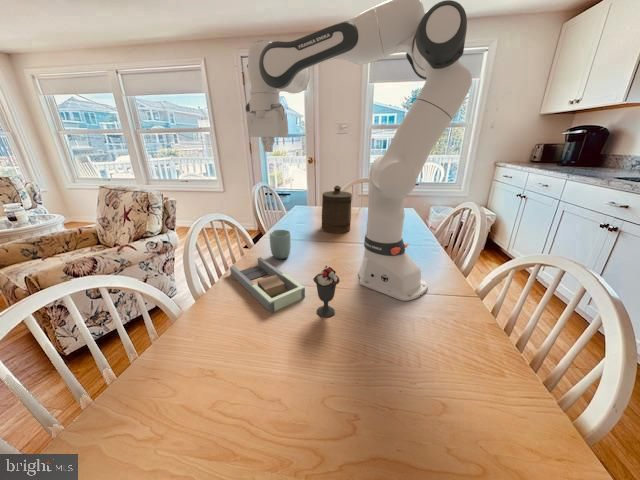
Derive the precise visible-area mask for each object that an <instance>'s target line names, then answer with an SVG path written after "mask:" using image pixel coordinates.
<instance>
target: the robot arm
mask: <svg viewBox="0 0 640 480" xmlns="http://www.w3.org/2000/svg"><path fill="white" fill-rule="evenodd" d="M466 13H467V12H466V10H465V8H464V7H463V5H462V4H461V3H459V2H458V1H456V0H442V1H440V2H437V3H435V4H434V5H433V6H431V7H429V9H428V10H427V11H425V8H424V4H423V2H422V0H387V1H384V2H382V3H380V4H378V5H376V6H373V7H371V8H370V9H367V10H365V11H363V12H361V13H359V14H357V15H355V16H353V17H351V18H348V19H346V20H344V21H341V22H339V23H336V24H333V25H330V26H328V27H325V28H323V29H319V30H318V31H315V32H312V33H310V34H308V35H305V36H302V37H300V38H297V39H294V40H291V41H278V40H277V41H269V40H258V41H255V42H253V43H252V44H251V45H250V46H249V48H248V53H247V67H248V69H247V70H248V72H247V73H248V79H249V83H250V91H249V94H250V95H249V96H250V98H249V101H248V102H246V104H245V106H244V111H245V113H246V123H247V129H248V130H247V131H248V135H249V137H251V138H260V141H261V144H262V146H263V151H264V153H272V152H273V151H274V144H275V138H288V135H289V123H288V117H287V112H286V111H285V107H284V105H282V103H280V93H281V92H285V93H288V94H300V93H302V92H303V91H305V89H306V88H307V86H308V85H309V81H310V70H309V68H312V67H315V66H317V65H319V64H322V63H325V62H328V61H331V60H342V61H343V60H344V61H347V62H349V63H353V64H356V65H359V66H360V65H364V64H365V65H366V64H370V63H374V62H377V61H380V60H382V59H384V58H387V57H389V56H390V55H393V54H396V53H399V52H404V53H406V54H405V58H406V59H407V61H408V62H409V64H410V66H411V67H412V68H411V69H413V72H414V74H416V76H417V77H418V78H419V79H421V80H425V82H424V84H423V87H422V88H421V90H420V92H419V93H418V95H417V96H416V97H415V98H416V99H414V101H413V103H412V104H411V106H410V107H409V110H408V111H407V113H406V115H405V116H404V117H403V119H402V120H401V121H400V124H399V125H398V127H397V129H396V131H395V133H394V136H393V138H392V140H391V142H390V144H389V145H388V148H387V149H386V151H385V152H384V154H383V155H380V156H378V157H377V158H376V159H374V161H373V162H372V163H371V165H370V167H369V171H368V172H369V174H368V194H367V195H368V196H367V197H368V200H367V201H368V202H367V219H366V221H367V222H366V233H365V236H364V240H363V247H364V252H363V258H362V260H361V261H362V262H361V265H360V268H359V270H358V277H359V284H360V285H361V286H364V287H366V288H368V289H371V290H374V291H376V292H379V293H382V294H384V295H386V296H389V297H392V298H394V299H397V300H399V301H402V302H404V301H405V302H406V301H413V300H414V299H417V298H419V297H421V296H422V295H424V294H425V293H426V291H427V289H428V282H427V281H425V280H424V279H422V273H421V272H422V271H421V268H420V266H419V265H418V264H417V263H416V262H415V261H414V260H413V258H412V257H411V256H410V255H409V254H408V253H407V252H406V248H408V247H409V242H408V243H404V239H403V229H404V223H405V222H404V221H405V213H406V212H405V197H407V196H408V195H410V194H411V193H412V192H413V190H414V188H415V187H416V184H417V179H418V177H419V175H420V174H421V172H422V170H423V168H424V166H425V164H426V162H427V159H428V158H429V156H430V154H431V152H432V150H433V148H434V147H435V146H436V144H437V143H438V142H439V139H440V138H441V136H443V134H444V133H445V131H446V130H447V128H448V127H449V126H450V124H451V122H452V121H453V119H454V118H455V116H456V115H457V113H458V111H459V110H460V109H461V107H462V105H463V103H464V101H465V99H466V98H467V96H468V94H469V91H470V89H471V87H472V84H473V76H472V74H471V72H470V70H469V69H468V68H467V67H466V66H464V65H463V64H461V63H460V61H459V60H460V58H461V57H462V56H463V55H464V51H465V44H466V37H467V28H468V17H467V14H466ZM420 295H421V296H420Z"/></svg>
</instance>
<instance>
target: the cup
mask: <svg viewBox="0 0 640 480" xmlns="http://www.w3.org/2000/svg"><path fill="white" fill-rule="evenodd" d="M291 242H292V241H291V233H290V231H289V230H286V229H275V230H272V231H270V233H269V246H270V247H269V248H270V252H271V255H272V257H273V258H274V259H279V260H282V259H287V258H288V257H289V255H290V254H291V248H292V247H291V245H292V244H291Z"/></svg>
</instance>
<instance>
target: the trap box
mask: <svg viewBox="0 0 640 480" xmlns="http://www.w3.org/2000/svg"><path fill="white" fill-rule="evenodd" d="M229 270H230V275H231V276H232V277H233V278H234V279H236V281H237V282H238V283H239V284H240V285H241V286H242V287H244V289H245V290H246V291H248V293H249V294H251V295H252V297H254V298H255V299H256V301H258V302H259V303H260V304H261V305H262V306H263V308H265V309H266V310H267V311H268V312H269V313H271V314H272V313H274V312H277V311H279V310H280V309H283V308H286V307H287V306H290V305H291V304H294V303H296V302H298V301H300V300H303V299H305V298H306V291H305V289H306V287H305V286H304V285H302V284H301V283H300V282H298V281H297V280H295V279H294V278H292V277H291V276H290V275H288V274H286V273H284V272H282V271H281V270H279V269H278V268H277V267H275V266H274V265H272V264H271V263H269V262H268V261H266V260H265V259H264V258H262V257H257V264H256V265H253V266H251V267H248V268H244V269H242V270H239V269H238V268H237V267H236V266H234V265H230V266H229ZM267 275H270V276H274V275H276V276H277V277H278V278H279V279H280V280H281V281H282V282H283V283H284V287H286V288H287V289H288V291H285V293H283V294H281V295H278V296H276V297H274V298H271V297H270V296H268V295H267V294H266V293H265V292H264V291H263V290H262V289H261V288H259V287H258V284H255V283H254V282H252V281H253V280H255V279H258V278H261V277H264V276H267Z"/></svg>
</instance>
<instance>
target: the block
mask: <svg viewBox="0 0 640 480" xmlns="http://www.w3.org/2000/svg"><path fill="white" fill-rule="evenodd" d="M256 281H257V286H258V287H259V288H261V289H262V290H263V291H264V292H265V293H266V294H267V295H268V296H270V297H271V298H274V297H276V296H278V295H281V294H283V293H286V291H285V287H286V286H284V283H283V282H282V281H281V280H280V279H279V278H278V277H277V276H276V275H274V276H271V275H270V276H268V277H264V278H261V279H257V280H256Z"/></svg>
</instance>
